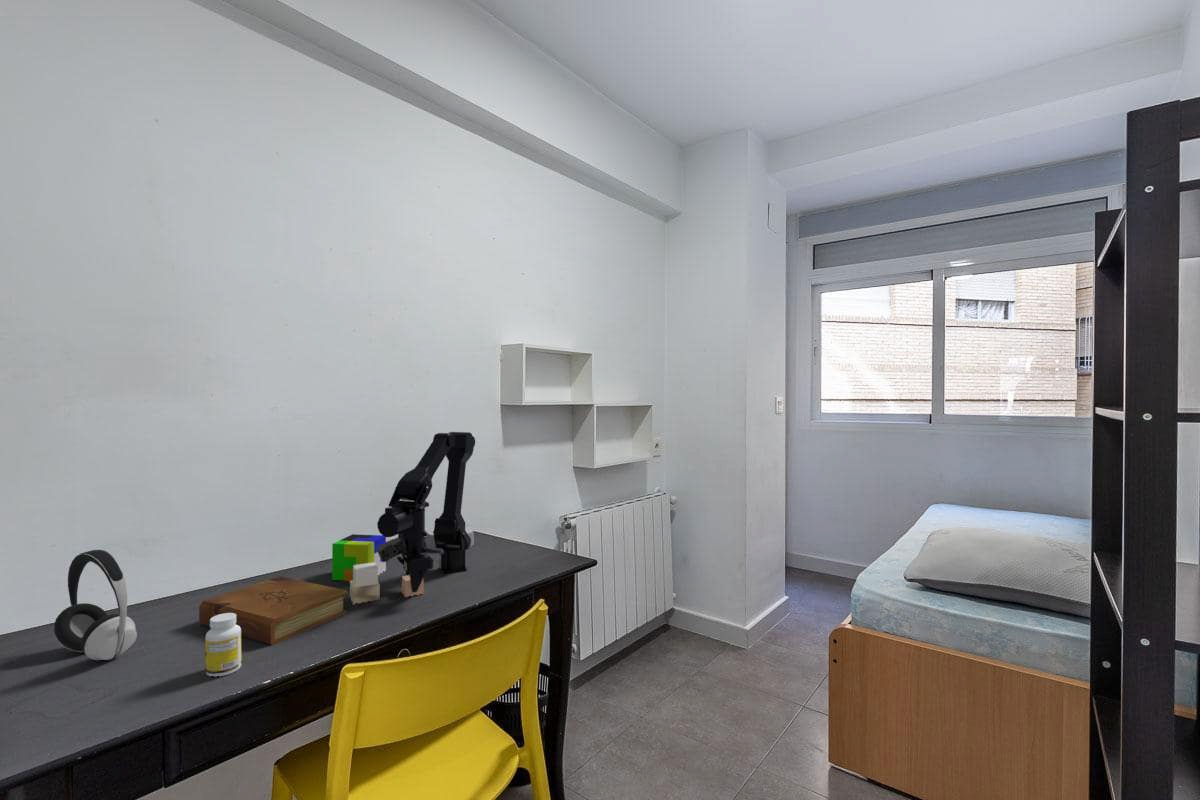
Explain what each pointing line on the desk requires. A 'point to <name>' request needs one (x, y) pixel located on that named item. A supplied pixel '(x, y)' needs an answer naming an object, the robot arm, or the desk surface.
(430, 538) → the grey bowl
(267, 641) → the diary
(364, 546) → the puzzle toy
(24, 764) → the desk surface
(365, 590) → the tower base
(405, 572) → the robot arm
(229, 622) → the supplement bottle
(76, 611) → the headphones
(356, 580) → the tower top
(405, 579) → the cube
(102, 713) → the desk surface
